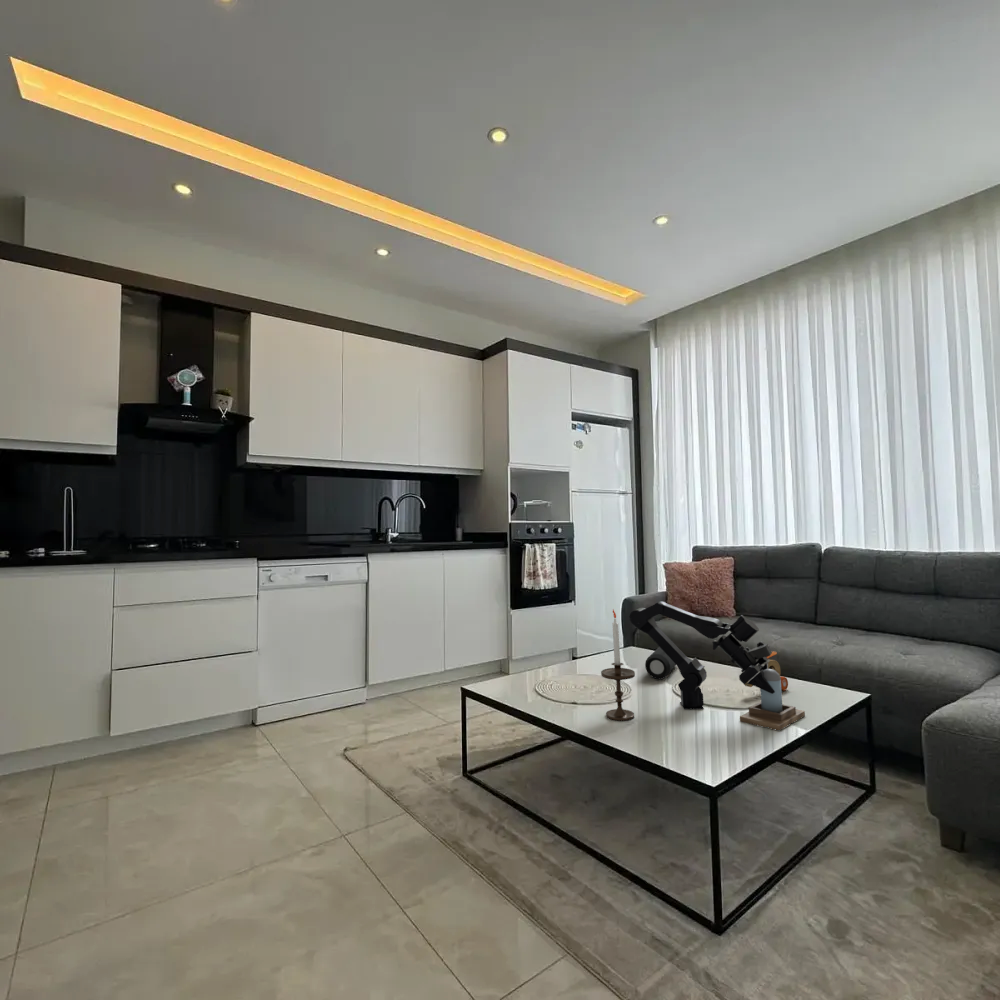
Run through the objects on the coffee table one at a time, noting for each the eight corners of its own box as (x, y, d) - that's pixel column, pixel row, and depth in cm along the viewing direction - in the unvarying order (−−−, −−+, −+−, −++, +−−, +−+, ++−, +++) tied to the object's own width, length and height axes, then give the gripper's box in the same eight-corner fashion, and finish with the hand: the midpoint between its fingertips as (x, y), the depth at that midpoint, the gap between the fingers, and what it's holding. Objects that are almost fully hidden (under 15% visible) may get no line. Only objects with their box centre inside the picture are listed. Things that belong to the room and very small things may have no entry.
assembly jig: (779, 731, 164) (778, 719, 164) (740, 721, 173) (739, 709, 174) (805, 715, 176) (804, 704, 176) (766, 707, 185) (766, 696, 185)
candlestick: (597, 714, 185) (591, 608, 187) (624, 709, 189) (619, 605, 191) (614, 724, 175) (609, 612, 177) (643, 718, 179) (638, 609, 180)
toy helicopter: (790, 689, 203) (788, 651, 204) (756, 700, 192) (754, 660, 193) (769, 684, 210) (767, 647, 211) (735, 695, 199) (733, 656, 200)
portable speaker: (658, 664, 246) (657, 641, 246) (681, 666, 241) (680, 643, 242) (644, 679, 223) (643, 654, 224) (669, 681, 219) (668, 656, 219)
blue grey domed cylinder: (760, 712, 174) (758, 670, 174) (762, 706, 179) (760, 665, 179) (781, 715, 170) (779, 672, 171) (783, 709, 176) (781, 667, 176)
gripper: (748, 640, 170) (790, 681, 163) (759, 629, 186) (798, 667, 179) (722, 663, 174) (763, 704, 168) (735, 651, 190) (773, 688, 183)
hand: (775, 690), depth 174 cm, fingers closed on blue grey domed cylinder, 6 cm apart
